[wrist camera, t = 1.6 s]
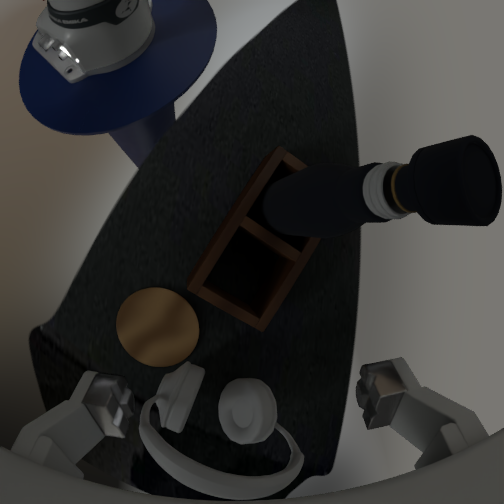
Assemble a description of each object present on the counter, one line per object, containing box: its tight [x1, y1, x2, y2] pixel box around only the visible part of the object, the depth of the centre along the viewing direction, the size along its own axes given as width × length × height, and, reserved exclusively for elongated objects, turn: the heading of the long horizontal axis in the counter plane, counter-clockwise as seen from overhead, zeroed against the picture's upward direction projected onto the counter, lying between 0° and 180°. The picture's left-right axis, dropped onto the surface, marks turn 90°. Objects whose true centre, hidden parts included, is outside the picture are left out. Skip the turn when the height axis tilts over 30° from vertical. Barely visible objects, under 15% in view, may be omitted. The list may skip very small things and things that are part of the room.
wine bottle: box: [253, 135, 502, 238], centre depth 24 cm, size 6×6×30 cm
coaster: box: [116, 287, 199, 367], centre depth 36 cm, size 11×11×1 cm
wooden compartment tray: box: [187, 146, 321, 332], centre depth 35 cm, size 10×19×6 cm, turn 147°
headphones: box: [139, 361, 304, 500], centre depth 29 cm, size 19×9×20 cm, turn 68°
